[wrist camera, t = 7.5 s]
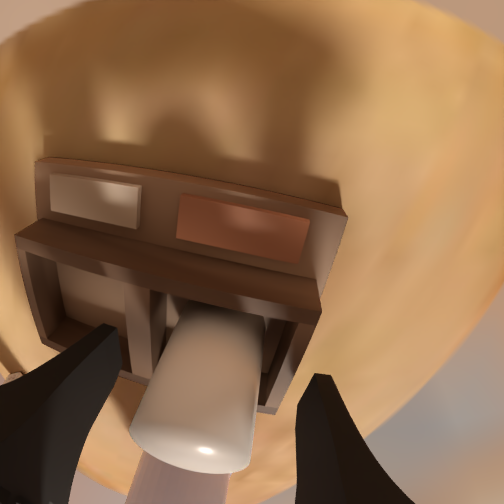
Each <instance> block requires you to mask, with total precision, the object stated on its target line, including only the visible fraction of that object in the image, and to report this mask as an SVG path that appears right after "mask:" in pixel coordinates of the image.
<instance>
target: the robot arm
mask: <svg viewBox="0 0 504 504" xmlns="http://www.w3.org/2000/svg"><path fill="white" fill-rule="evenodd" d="M122 364H123V363H122V357H121V350H120V344H119V337H118V329H117V327H114V326H111V325H108V324H105V323H103V324H101V325H100V326H98V327H97V328H95V329H94V330H92V331H91V332H90V333H88V334H87V335H85V336H84V337H83V338H81V339H80V340H78V341H77V342H76V343H74V344H73V345H71V346H70V347H69V348H67V349H66V350H64V351H63V352H61V353H60V354H58V355H57V356H55V357H54V358H52V359H51V360H49V361H47V362H46V363H44V364H43V365H41V366H39V367H38V368H36V369H34V370H32V371H31V372H29V373H27V374H25V375H23V376H21V377H19V378H17V379H15V380H13V381H10V382H8V383H5V384H3V385H1V386H0V504H68V502H69V496H70V491H71V486H72V482H73V478H74V474H75V471H76V467H77V464H78V461H79V458H80V455H81V452H82V449H83V446H84V443H85V441H86V438H87V436H88V433H89V431H90V429H91V427H92V425H93V423H94V421H95V420H96V418H97V416H98V414H99V412H100V410H101V409H102V407H103V405H104V403H105V401H106V399H107V398H108V396H109V394H110V392H111V390H112V388H113V387H114V384H115V382H116V379H117V377H118V375H119V372H120V369H121V367H122ZM295 433H296V464H297V489H296V498H295V504H415V503H414V502H413V501H412V500H410V498H408V497H407V496H406V494H404V492H403V491H402V490H401V489H400V488H399V487H398V486H397V485H396V484H395V483H394V482H393V480H392V479H391V478H390V477H389V476H388V474H387V473H386V472H385V471H384V469H383V468H382V467H381V466H380V464H379V463H378V461H377V460H376V459H375V457H374V455H373V454H372V452H371V451H370V449H369V448H368V446H367V445H366V443H365V441H364V440H363V438H362V436H361V434H360V433H359V431H358V429H357V427H356V425H355V423H354V422H353V420H352V418H351V416H350V414H349V412H348V410H347V408H346V406H345V404H344V402H343V400H342V398H341V396H340V393H339V391H338V389H337V387H336V385H335V383H334V380H333V378H332V377H331V375H326V374H318V373H314V375H313V377H312V379H311V381H310V383H309V385H308V386H307V388H306V390H305V392H304V394H303V396H302V397H301V399H300V401H299V403H298V404H297V415H296V427H295ZM231 474H232V473H226V474H210V473H201V472H195V471H190V470H186V469H183V468H179V467H176V466H174V465H171V464H168V463H166V462H164V461H162V460H159V459H157V458H156V457H154V456H152V455H150V454H149V453H147V452H146V451H145V450H143V453H142V456H141V458H140V461H139V464H138V467H137V470H136V473H135V476H134V479H133V481H132V484H131V487H130V490H129V493H128V496H127V499H126V502H125V504H225V503H226V496H227V490H228V484H229V478H230V476H231Z"/></svg>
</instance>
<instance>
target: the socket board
mask: <svg viewBox="0 0 504 504" xmlns="http://www.w3.org/2000/svg"><path fill="white" fill-rule="evenodd" d="M35 190H36V207H37V219H38V221H36V222H35V223H33V224H31V225H30V226H28V227H26V228H25V229H23V230H22V231H20V232H18V233H17V234H15V241H16V247H17V253H18V258H19V263H20V268H21V273H22V277H23V281H24V285H25V289H26V293H27V297H28V301H29V304H30V308H31V311H32V315H33V318H34V321H35V324H36V327H37V330H38V333H39V336H40V339H41V342H42V344H44V345H46V346H48V347H50V348H53V349H55V350H57V351H59V352H63V351H64V350H66V349H67V348H69V347H70V346H71V345H73V344H74V343H76V342H77V341H78V340H80V339H81V338H83V337H84V336H85V335H87V334H88V333H90V332H91V331H92V330H94V329H95V328H97V327H98V326H100V325H101V324H103V323H105V324H108V325H111V326H114V327H117V329H118V337H119V344H120V350H121V357H122V363H123V364H122V367H121V369H120V372H119V375H118V376H120V377H122V378H125V379H128V380H131V381H134V382H137V383H140V384H143V385H146V386H148V384H149V382H150V380H151V377H152V375H153V373H154V371H155V369H156V366H157V364H158V362H159V360H160V358H161V356H162V353H163V351H164V349H165V347H166V345H167V343H168V341H169V339H170V336H171V334H172V332H173V330H174V328H175V326H176V324H177V322H178V320H179V318H180V315H181V313H182V311H183V309H184V307H185V305H186V304H187V302H188V301H189V300H194V301H198V302H202V303H207V304H211V305H215V306H220V307H224V308H229V309H233V310H238V311H242V312H247V313H252V314H256V315H261V316H263V318H264V320H265V326H266V330H265V340H264V349H263V359H262V368H261V377H260V386H259V394H258V403H257V411H256V412H259V413H266V414H272V415H275V414H276V412H277V410H278V408H279V406H280V404H281V402H282V400H283V398H284V396H285V394H286V392H287V390H288V388H289V385H290V383H291V381H292V379H293V377H294V375H295V373H296V371H297V368H298V366H299V364H300V362H301V360H302V357H303V355H304V353H305V351H306V349H307V346H308V344H309V342H310V339H311V337H312V335H313V332H314V330H315V328H316V325H317V323H318V320H319V318H320V316H321V313H322V308H321V303H320V297H321V295H322V292H323V289H324V287H325V284H326V281H327V279H328V276H329V273H330V270H331V267H332V265H333V262H334V259H335V256H336V253H337V250H338V247H339V244H340V241H341V238H342V235H343V232H344V229H345V226H346V223H347V220H348V216H347V215H346V213H345V212H344V210H343V209H342V208H338V207H334V206H330V205H326V204H322V203H318V202H314V201H310V200H306V199H301V198H297V197H293V196H289V195H284V194H280V193H275V192H271V191H266V190H262V189H257V188H252V187H247V186H242V185H238V184H232V183H227V182H222V181H217V180H212V179H206V178H201V177H195V176H190V175H184V174H178V173H172V172H166V171H159V170H153V169H146V168H139V167H132V166H125V165H117V164H110V163H101V162H93V161H84V160H74V159H64V158H53V157H48V158H44V159H41V160H38V161H35Z"/></svg>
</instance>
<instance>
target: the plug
mask: <svg viewBox="0 0 504 504" xmlns="http://www.w3.org/2000/svg"><path fill="white" fill-rule="evenodd" d="M265 330H266V326H265V320H264V318H263V316H261V315H256V314H252V313H247V312H242V311H238V310H233V309H229V308H224V307H220V306H215V305H211V304H207V303H202V302H198V301H194V300H189V301H188V302H187V304H186V305H185V307H184V309H183V311H182V313H181V315H180V318H179V320H178V322H177V324H176V326H175V328H174V330H173V332H172V334H171V336H170V339H169V341H168V343H167V345H166V347H165V349H164V351H163V353H162V356H161V358H160V360H159V362H158V364H157V366H156V369H155V371H154V373H153V375H152V377H151V380H150V382H149V384H148V386H147V388H146V391H145V393H144V395H143V397H142V400H141V402H140V404H139V406H138V409H137V411H136V413H135V416H134V418H133V420H132V422H131V425H130V427H129V433H130V436H131V437H132V439H133V440H134V442H135V443H136V444H137V445H138V446H140V447H141V448H142V449H143V450H145V451H146V452H147V453H149V454H150V455H152V456H154V457H156V458H157V459H159V460H162V461H164V462H166V463H168V464H171V465H174V466H176V467H179V468H183V469H186V470H190V471H195V472H201V473H210V474H226V473H234V472H237V471H240V470H243V469H245V468H246V467H247V466H248V465H249V464H250V459H251V452H252V444H253V436H254V428H255V420H256V411H257V403H258V394H259V386H260V377H261V368H262V359H263V349H264V340H265Z"/></svg>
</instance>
